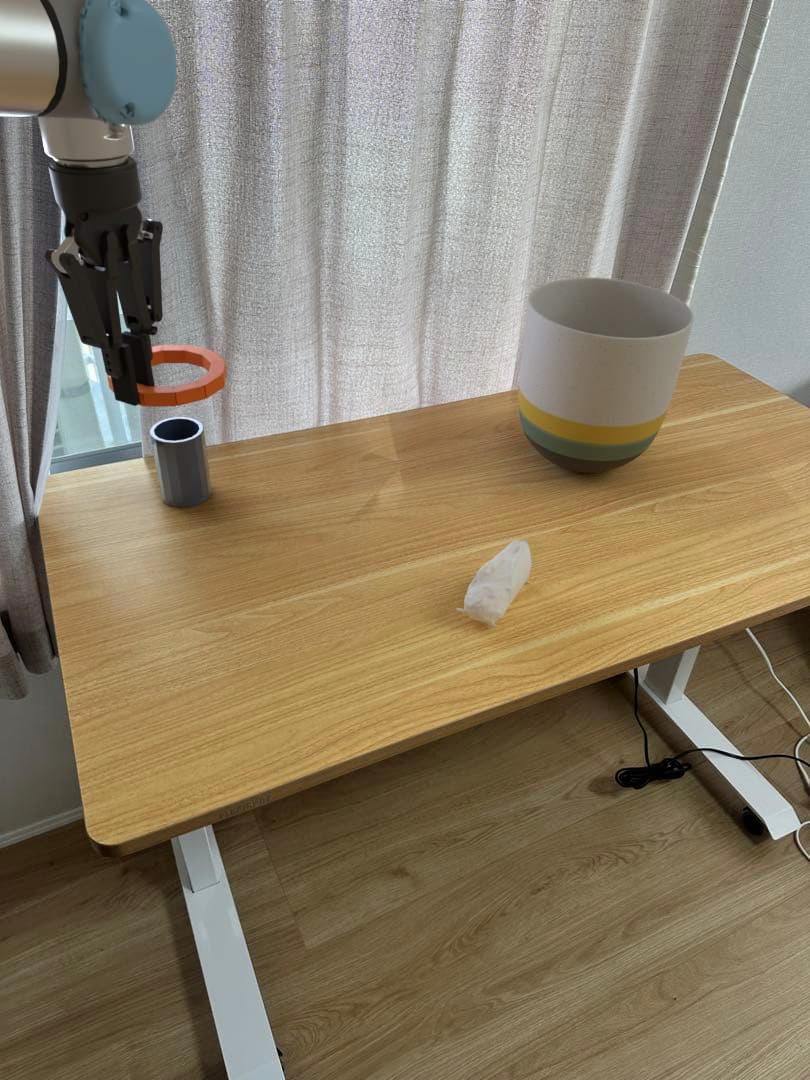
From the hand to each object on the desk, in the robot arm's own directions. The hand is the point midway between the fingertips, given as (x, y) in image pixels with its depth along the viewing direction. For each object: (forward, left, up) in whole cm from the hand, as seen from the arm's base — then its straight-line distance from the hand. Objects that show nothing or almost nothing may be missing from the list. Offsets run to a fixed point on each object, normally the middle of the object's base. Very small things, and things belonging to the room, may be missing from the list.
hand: (135, 396), depth 86 cm
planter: (+40, +38, -16) cm, 58 cm away
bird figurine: (+41, +5, -16) cm, 44 cm away
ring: (0, +5, 0) cm, 5 cm away
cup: (0, +5, -16) cm, 16 cm away
